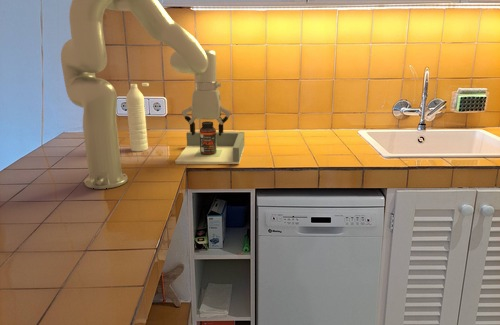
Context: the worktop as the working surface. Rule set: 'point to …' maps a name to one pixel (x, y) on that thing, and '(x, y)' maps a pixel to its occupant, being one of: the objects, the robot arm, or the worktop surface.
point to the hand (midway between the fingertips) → (206, 134)
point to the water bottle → (137, 118)
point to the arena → (226, 144)
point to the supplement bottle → (208, 138)
